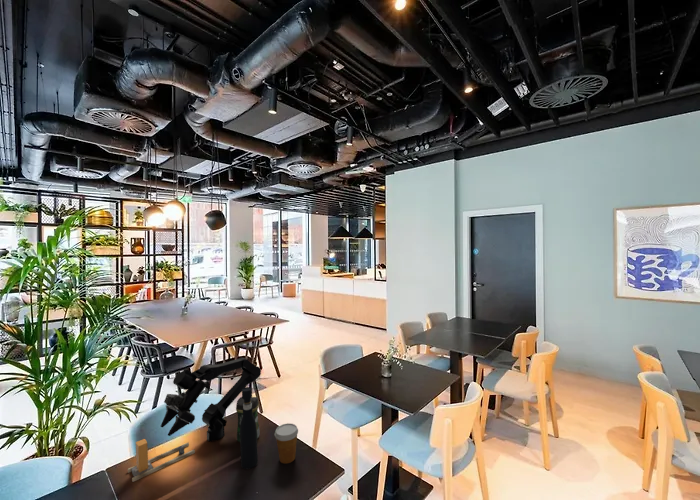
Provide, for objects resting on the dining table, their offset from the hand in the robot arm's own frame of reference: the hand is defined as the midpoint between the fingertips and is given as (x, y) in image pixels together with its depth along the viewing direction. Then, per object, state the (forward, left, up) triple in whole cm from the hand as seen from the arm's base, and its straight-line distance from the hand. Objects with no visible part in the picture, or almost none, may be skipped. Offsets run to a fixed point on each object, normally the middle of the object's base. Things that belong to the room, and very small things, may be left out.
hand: (164, 431), depth 126 cm
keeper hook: (-6, 0, -12) cm, 14 cm away
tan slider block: (+8, 0, -12) cm, 15 cm away
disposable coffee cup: (-35, +35, -14) cm, 51 cm away
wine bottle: (-23, +26, -14) cm, 37 cm away
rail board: (+1, 0, -13) cm, 13 cm away
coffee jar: (-31, +10, -14) cm, 35 cm away
